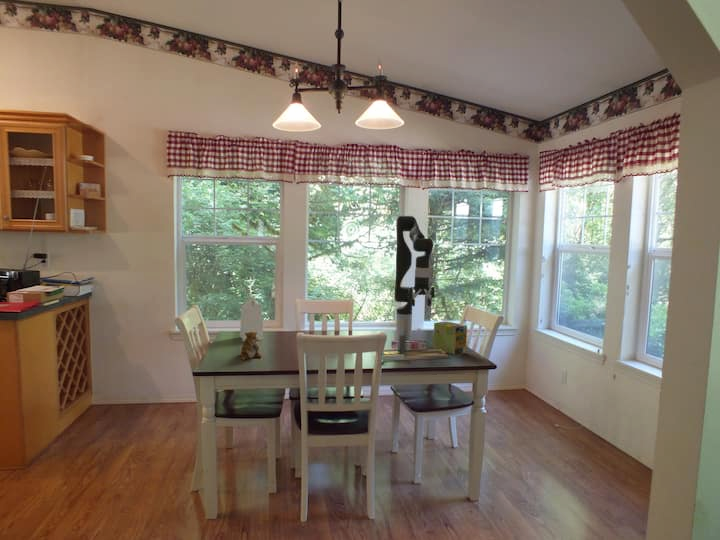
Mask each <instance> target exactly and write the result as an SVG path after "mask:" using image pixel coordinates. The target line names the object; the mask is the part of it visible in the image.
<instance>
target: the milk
mask: <svg viewBox="0 0 720 540" xmlns="http://www.w3.org/2000/svg"><path fill="white" fill-rule="evenodd" d="M248 296H249V298H248V300H247V301H246V302H244V303H243V304H242V306H241V309H240V330H239V338H240V337H241V338H242V339H243V340H242V339H241V338H240V339H241V340H242V341H243V342H244V341H245V340H246V338H247V337H246V336H245V333H249V332H254V333H256V332H257V334H256V338H257V339H256V340H258V339H259V341H261V340H260V339H263V340H264V321H263V319H264V318H263V308H262V307H261V306H260V303H259V302H258V301H257V300H255V297H254V295H252V294H249V295H248Z"/></svg>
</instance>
